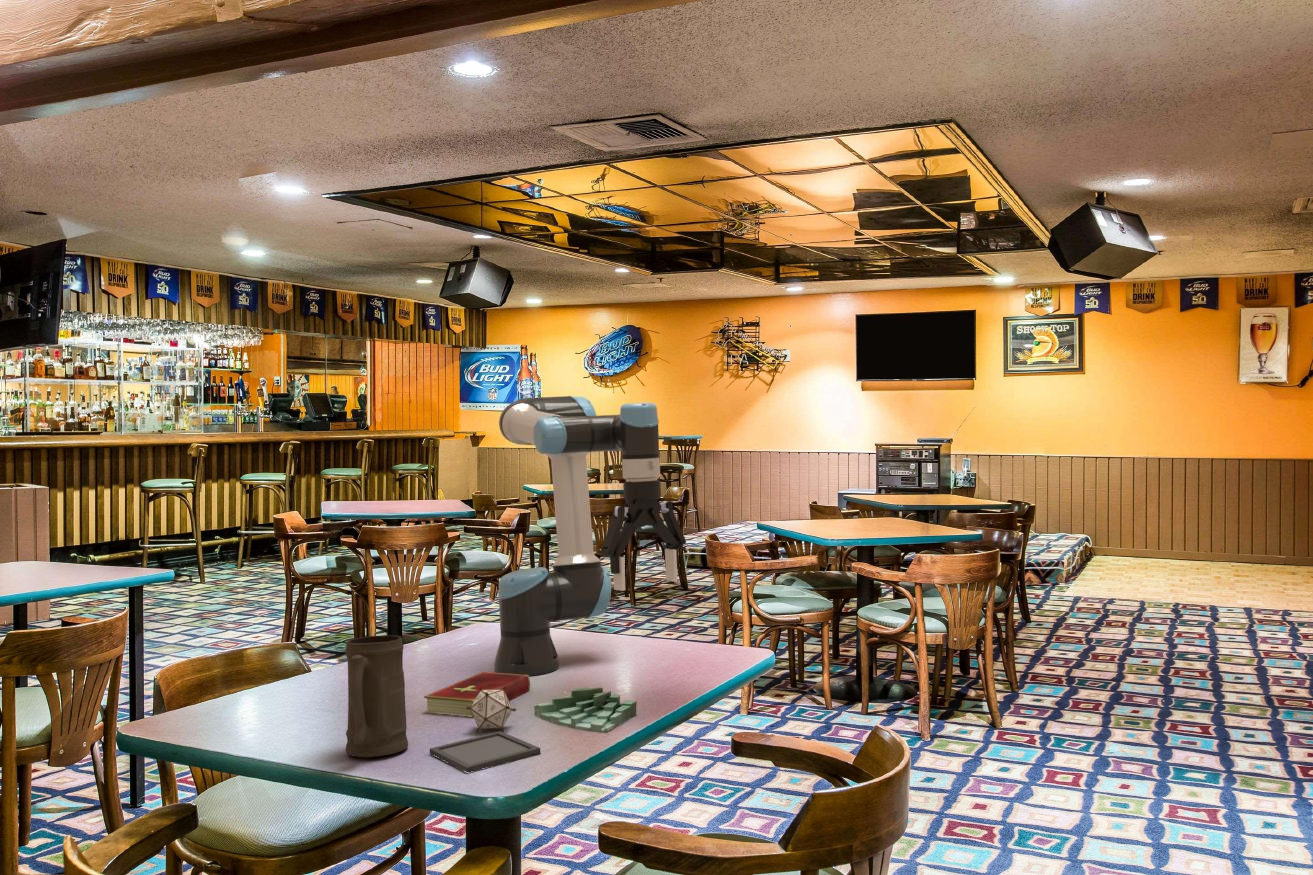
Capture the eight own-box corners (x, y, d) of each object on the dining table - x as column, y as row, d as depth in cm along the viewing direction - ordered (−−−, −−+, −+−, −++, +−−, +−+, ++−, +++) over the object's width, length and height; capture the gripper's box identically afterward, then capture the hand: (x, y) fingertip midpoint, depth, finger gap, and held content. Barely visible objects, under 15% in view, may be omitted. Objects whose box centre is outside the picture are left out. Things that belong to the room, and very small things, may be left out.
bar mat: (429, 754, 174) (429, 748, 174) (500, 736, 183) (500, 730, 183) (467, 773, 163) (466, 767, 163) (540, 753, 172) (540, 747, 172)
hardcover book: (530, 693, 215) (529, 673, 215) (474, 720, 196) (473, 698, 196) (483, 689, 220) (483, 670, 220) (424, 715, 201) (424, 694, 201)
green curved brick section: (646, 711, 197) (645, 686, 197) (607, 735, 182) (606, 708, 182) (559, 703, 205) (558, 680, 205) (515, 725, 191) (514, 700, 191)
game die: (501, 746, 189) (530, 700, 191) (489, 744, 181) (520, 695, 183) (463, 721, 191) (492, 675, 194) (450, 717, 183) (481, 670, 186)
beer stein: (353, 743, 182) (349, 634, 182) (413, 739, 183) (408, 630, 183) (333, 771, 167) (328, 652, 167) (399, 766, 168) (393, 648, 168)
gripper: (603, 484, 189) (608, 595, 189) (700, 476, 205) (704, 578, 205) (580, 483, 195) (585, 591, 195) (676, 476, 211) (680, 575, 211)
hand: (646, 585), depth 200 cm, fingers open, 13 cm apart
